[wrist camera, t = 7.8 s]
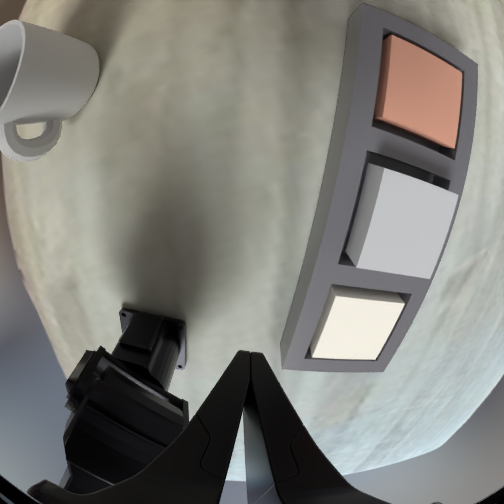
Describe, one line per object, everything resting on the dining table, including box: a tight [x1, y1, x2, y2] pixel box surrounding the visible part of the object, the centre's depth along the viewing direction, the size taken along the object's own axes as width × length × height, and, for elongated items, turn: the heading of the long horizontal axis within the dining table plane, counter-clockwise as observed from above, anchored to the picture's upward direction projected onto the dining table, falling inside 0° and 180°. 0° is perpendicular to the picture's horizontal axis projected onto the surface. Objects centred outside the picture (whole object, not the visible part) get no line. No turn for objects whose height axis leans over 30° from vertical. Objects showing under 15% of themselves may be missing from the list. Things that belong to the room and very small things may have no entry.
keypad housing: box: [280, 3, 478, 372], centre depth 17 cm, size 28×10×3 cm, turn 171°
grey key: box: [346, 163, 459, 279], centre depth 15 cm, size 6×6×2 cm
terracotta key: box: [373, 35, 462, 149], centre depth 13 cm, size 6×6×2 cm
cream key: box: [310, 284, 405, 360], centre depth 20 cm, size 6×6×2 cm
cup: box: [0, 20, 100, 162], centre depth 11 cm, size 7×10×9 cm
